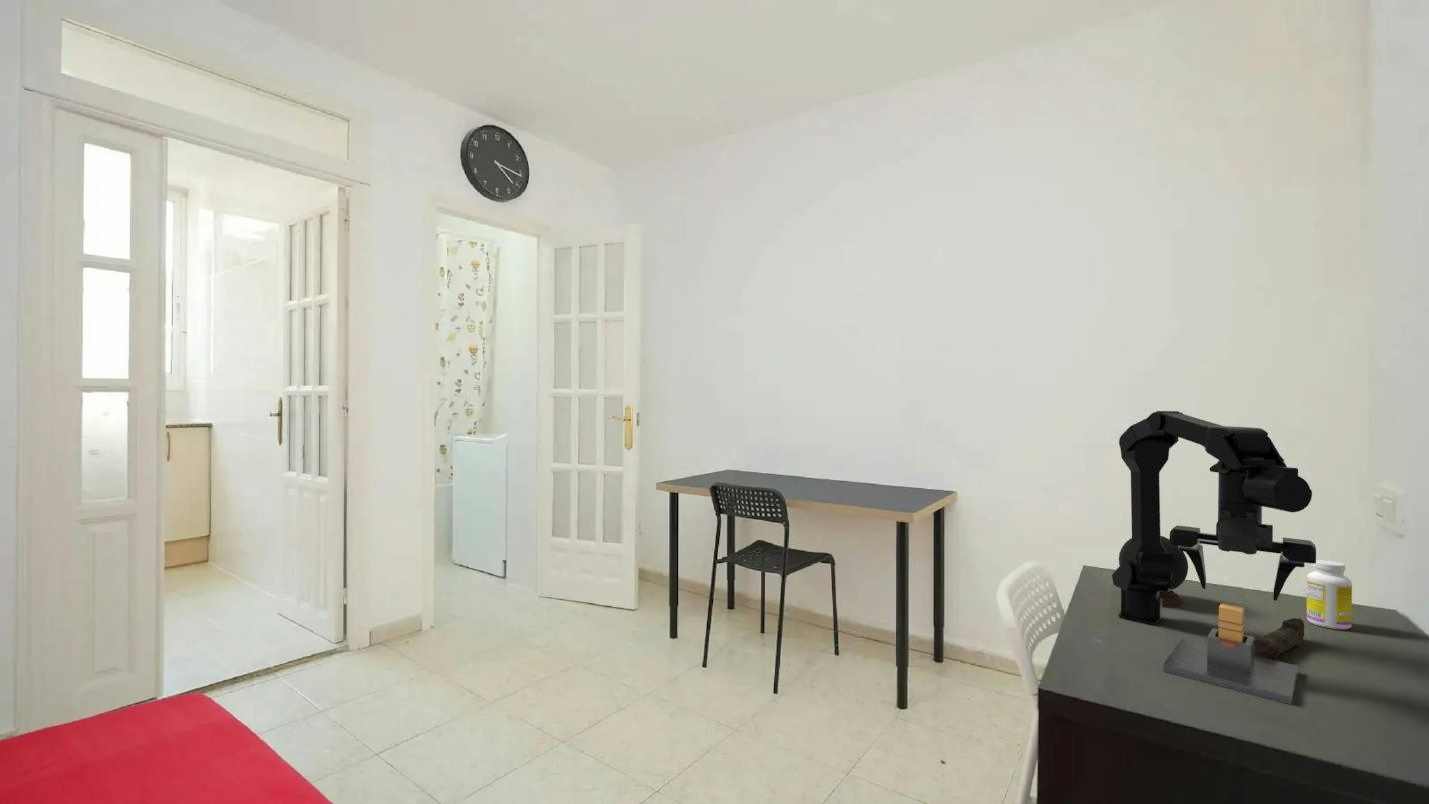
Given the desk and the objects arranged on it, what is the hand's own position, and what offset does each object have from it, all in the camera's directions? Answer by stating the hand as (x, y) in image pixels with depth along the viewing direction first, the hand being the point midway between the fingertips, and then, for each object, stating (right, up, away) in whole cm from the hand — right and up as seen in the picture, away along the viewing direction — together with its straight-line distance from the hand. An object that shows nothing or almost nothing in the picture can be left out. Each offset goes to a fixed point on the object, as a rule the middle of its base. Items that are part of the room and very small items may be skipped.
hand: (1238, 594), depth 107 cm
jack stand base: (-1, -13, 0) cm, 13 cm away
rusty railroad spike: (+16, -14, +10) cm, 24 cm away
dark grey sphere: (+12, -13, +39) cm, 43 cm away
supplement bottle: (+38, -14, +23) cm, 46 cm away
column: (-1, -12, 0) cm, 12 cm away
